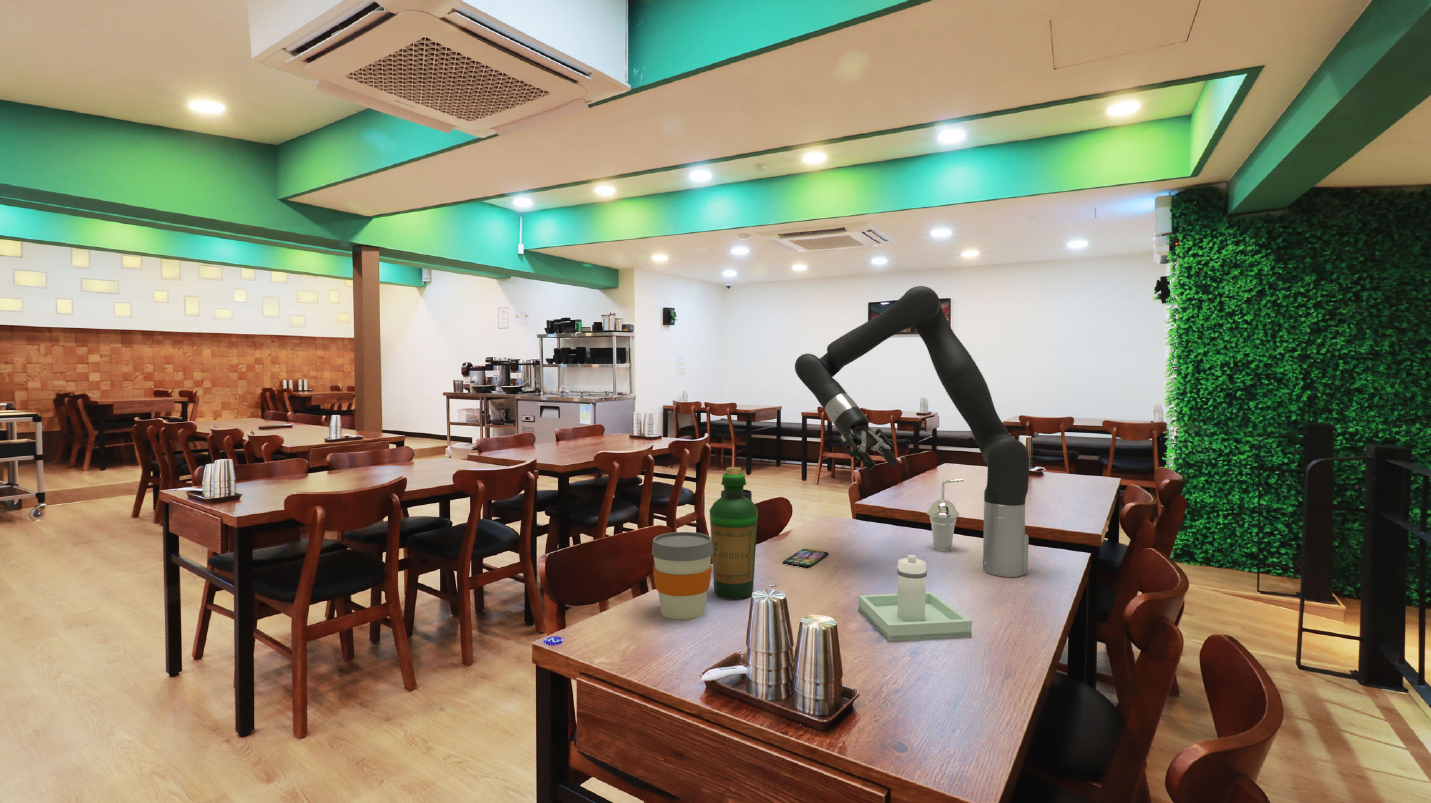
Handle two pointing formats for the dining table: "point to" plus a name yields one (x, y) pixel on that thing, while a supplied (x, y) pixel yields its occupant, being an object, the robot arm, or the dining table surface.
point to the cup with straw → (943, 521)
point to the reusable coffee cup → (682, 573)
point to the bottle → (733, 538)
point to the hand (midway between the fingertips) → (884, 466)
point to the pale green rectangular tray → (935, 626)
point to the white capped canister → (911, 589)
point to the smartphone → (806, 558)
